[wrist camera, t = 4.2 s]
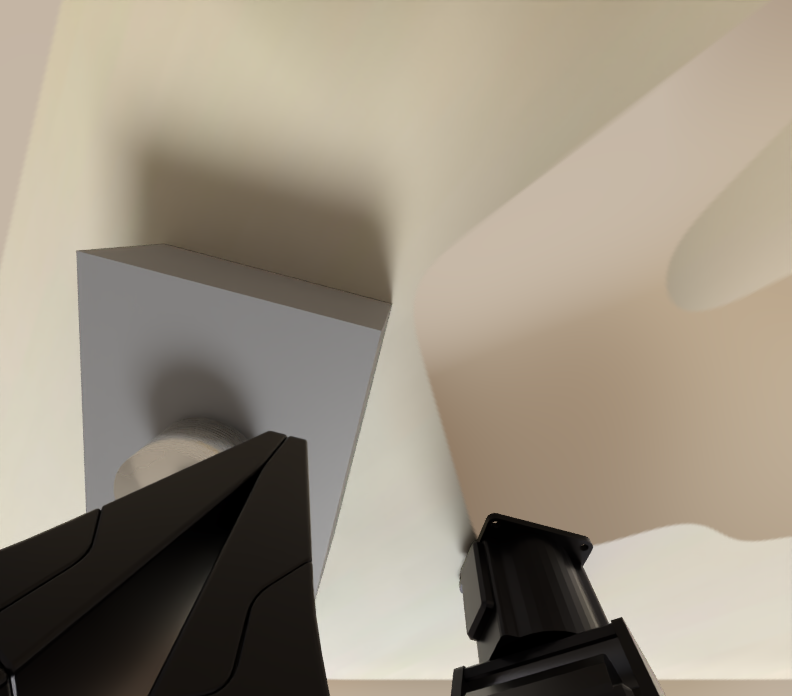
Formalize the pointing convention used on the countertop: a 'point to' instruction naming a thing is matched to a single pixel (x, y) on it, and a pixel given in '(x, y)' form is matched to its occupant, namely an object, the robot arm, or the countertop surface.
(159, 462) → the knob
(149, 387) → the panel
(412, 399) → the countertop surface
